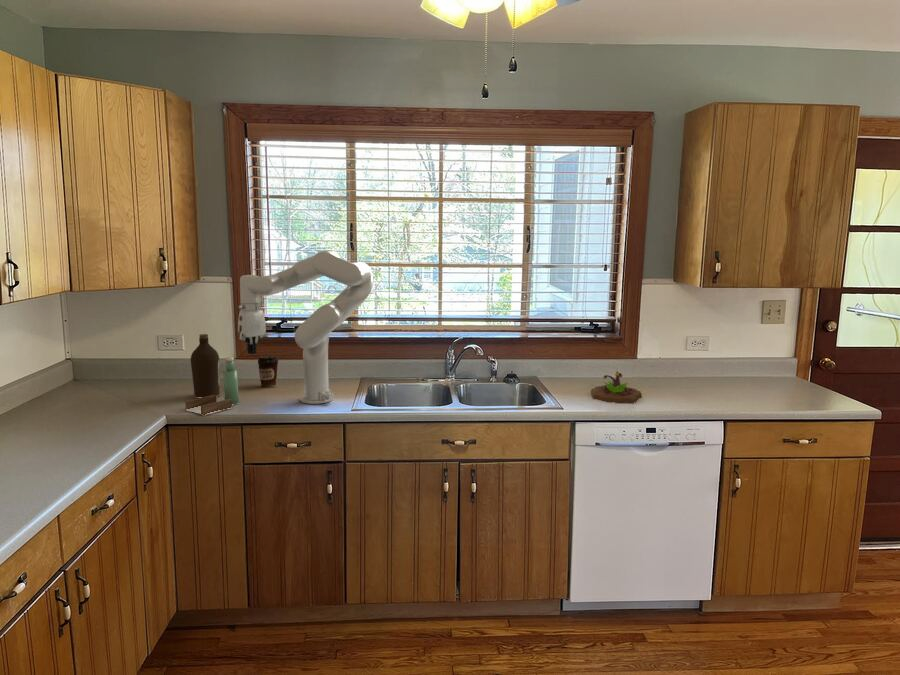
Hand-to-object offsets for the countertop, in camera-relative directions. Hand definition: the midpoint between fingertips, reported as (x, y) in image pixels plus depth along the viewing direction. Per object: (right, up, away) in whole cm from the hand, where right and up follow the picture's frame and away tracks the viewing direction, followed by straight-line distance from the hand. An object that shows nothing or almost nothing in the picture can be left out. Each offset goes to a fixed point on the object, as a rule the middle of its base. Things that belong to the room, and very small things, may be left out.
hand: (252, 353), depth 252 cm
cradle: (-12, -21, -14) cm, 27 cm away
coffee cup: (+1, -15, +21) cm, 26 cm away
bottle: (-6, -19, -6) cm, 21 cm away
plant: (+145, -18, +9) cm, 147 cm away
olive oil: (-19, -17, +5) cm, 26 cm away
